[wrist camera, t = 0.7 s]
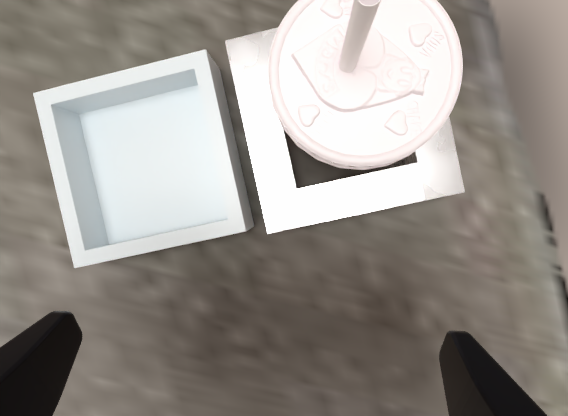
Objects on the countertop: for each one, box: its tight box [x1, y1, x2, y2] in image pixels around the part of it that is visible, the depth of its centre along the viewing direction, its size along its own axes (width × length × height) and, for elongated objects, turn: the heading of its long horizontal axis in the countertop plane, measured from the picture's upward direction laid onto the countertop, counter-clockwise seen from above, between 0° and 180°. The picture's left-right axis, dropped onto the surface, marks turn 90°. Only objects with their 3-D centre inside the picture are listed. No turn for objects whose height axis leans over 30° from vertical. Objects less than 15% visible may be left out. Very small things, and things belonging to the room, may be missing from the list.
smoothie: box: [268, 0, 463, 170], centre depth 14 cm, size 6×6×14 cm
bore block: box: [225, 27, 465, 234], centre depth 20 cm, size 10×10×2 cm
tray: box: [33, 49, 254, 268], centre depth 21 cm, size 10×10×3 cm
